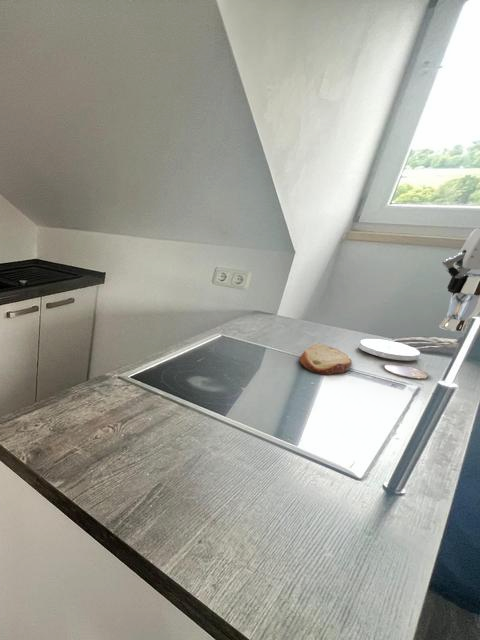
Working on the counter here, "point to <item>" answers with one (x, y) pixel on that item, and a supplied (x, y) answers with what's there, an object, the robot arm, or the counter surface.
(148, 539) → the counter surface
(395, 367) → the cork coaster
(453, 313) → the beer glass
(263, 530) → the counter surface
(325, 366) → the bread slice
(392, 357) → the plastic lid
